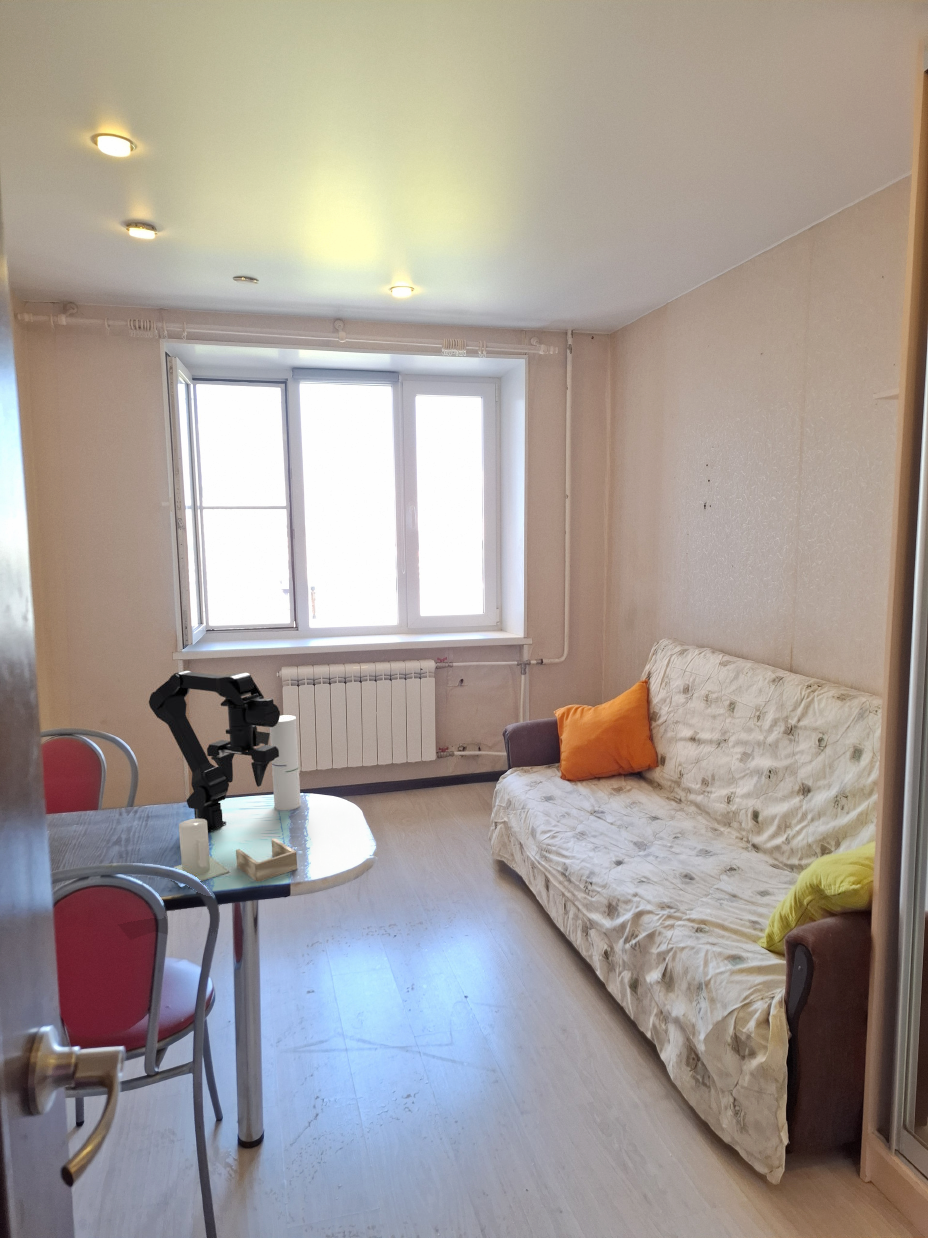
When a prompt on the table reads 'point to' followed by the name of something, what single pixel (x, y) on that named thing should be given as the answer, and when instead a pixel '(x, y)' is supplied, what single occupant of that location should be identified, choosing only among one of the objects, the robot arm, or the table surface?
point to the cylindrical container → (285, 764)
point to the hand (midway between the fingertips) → (244, 784)
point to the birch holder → (268, 862)
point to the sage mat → (211, 870)
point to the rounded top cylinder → (194, 846)
